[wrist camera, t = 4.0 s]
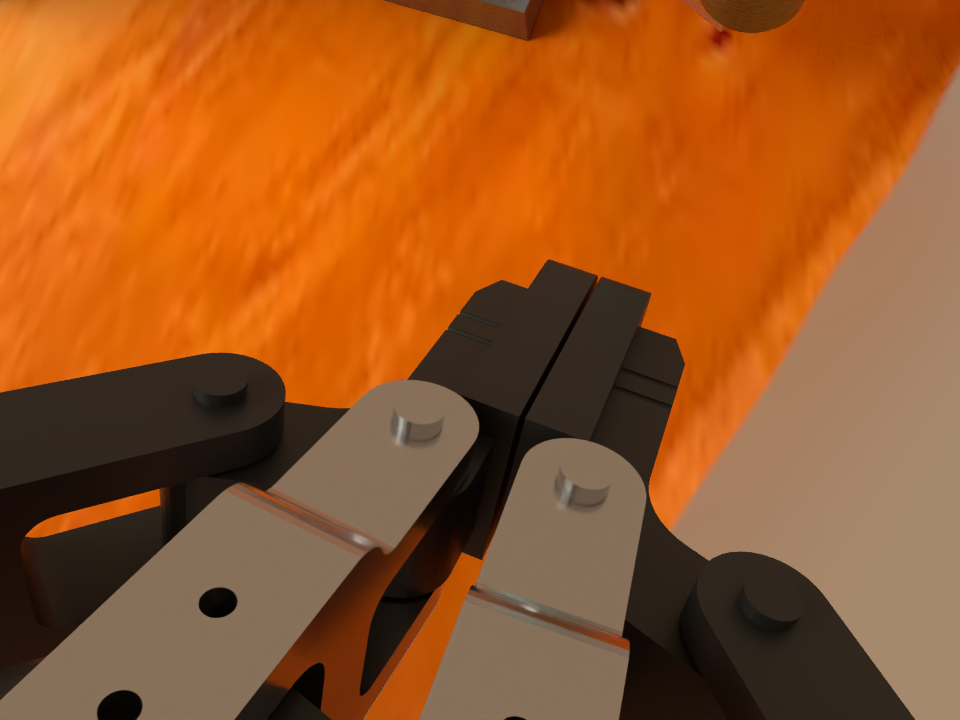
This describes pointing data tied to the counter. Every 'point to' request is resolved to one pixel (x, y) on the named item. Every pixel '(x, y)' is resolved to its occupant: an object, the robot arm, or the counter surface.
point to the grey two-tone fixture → (746, 13)
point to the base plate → (485, 13)
